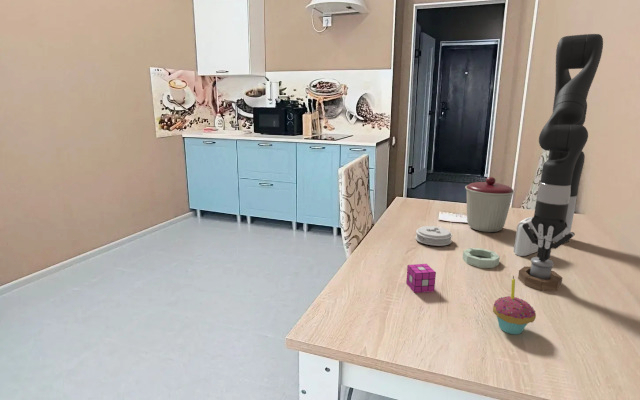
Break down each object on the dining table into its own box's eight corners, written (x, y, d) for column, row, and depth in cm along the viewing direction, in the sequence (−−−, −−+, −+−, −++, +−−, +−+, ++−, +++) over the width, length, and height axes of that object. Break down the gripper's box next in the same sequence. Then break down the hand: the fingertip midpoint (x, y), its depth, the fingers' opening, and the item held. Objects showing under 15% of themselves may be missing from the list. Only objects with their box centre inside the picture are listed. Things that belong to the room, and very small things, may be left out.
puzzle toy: (425, 282, 109) (426, 263, 108) (434, 291, 104) (436, 272, 102) (406, 283, 108) (407, 264, 107) (414, 293, 103) (415, 273, 101)
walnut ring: (526, 271, 117) (528, 263, 116) (564, 282, 110) (565, 274, 109) (513, 281, 110) (515, 273, 109) (552, 294, 103) (554, 285, 102)
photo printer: (527, 247, 136) (533, 213, 133) (540, 251, 133) (545, 217, 130) (511, 253, 131) (516, 218, 128) (523, 257, 127) (529, 221, 124)
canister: (512, 226, 159) (519, 176, 154) (505, 239, 144) (513, 183, 139) (466, 219, 168) (471, 171, 163) (456, 230, 154) (461, 178, 148)
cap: (532, 274, 114) (535, 255, 112) (552, 280, 110) (556, 261, 108) (525, 280, 110) (528, 260, 108) (546, 286, 106) (549, 266, 105)
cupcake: (483, 318, 91) (489, 271, 88) (518, 317, 92) (525, 270, 89) (503, 340, 83) (510, 289, 80) (541, 339, 83) (550, 288, 80)
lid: (447, 236, 147) (448, 224, 146) (454, 249, 135) (456, 235, 133) (413, 235, 148) (414, 222, 147) (417, 247, 136) (418, 233, 135)
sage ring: (472, 252, 131) (473, 245, 130) (502, 261, 124) (503, 254, 123) (458, 260, 124) (458, 253, 124) (489, 270, 117) (489, 262, 116)
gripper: (585, 202, 102) (573, 263, 106) (531, 193, 111) (522, 250, 115) (577, 207, 97) (565, 271, 101) (521, 197, 106) (512, 256, 110)
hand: (542, 259), depth 108 cm, fingers closed
